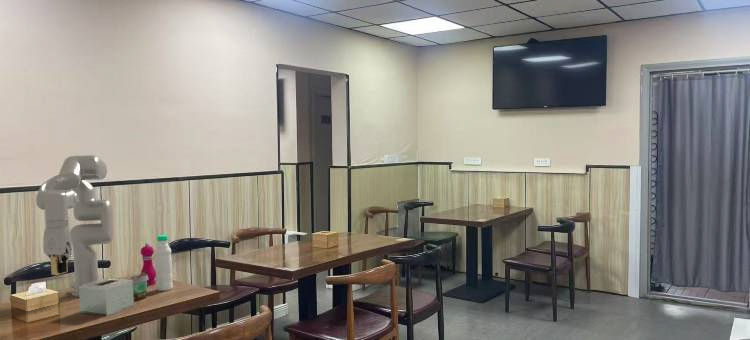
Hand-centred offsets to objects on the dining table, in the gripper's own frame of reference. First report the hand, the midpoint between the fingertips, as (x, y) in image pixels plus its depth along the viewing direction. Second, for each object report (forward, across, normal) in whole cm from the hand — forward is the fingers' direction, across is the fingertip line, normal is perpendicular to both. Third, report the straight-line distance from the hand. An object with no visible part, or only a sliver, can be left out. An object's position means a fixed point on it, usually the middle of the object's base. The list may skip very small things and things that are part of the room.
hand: (59, 271), depth 219 cm
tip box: (+19, +5, +17) cm, 26 cm away
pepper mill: (+19, -10, +56) cm, 60 cm away
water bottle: (+19, +5, +50) cm, 54 cm away
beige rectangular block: (+1, 0, 0) cm, 1 cm away
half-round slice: (+19, +6, +34) cm, 39 cm away
